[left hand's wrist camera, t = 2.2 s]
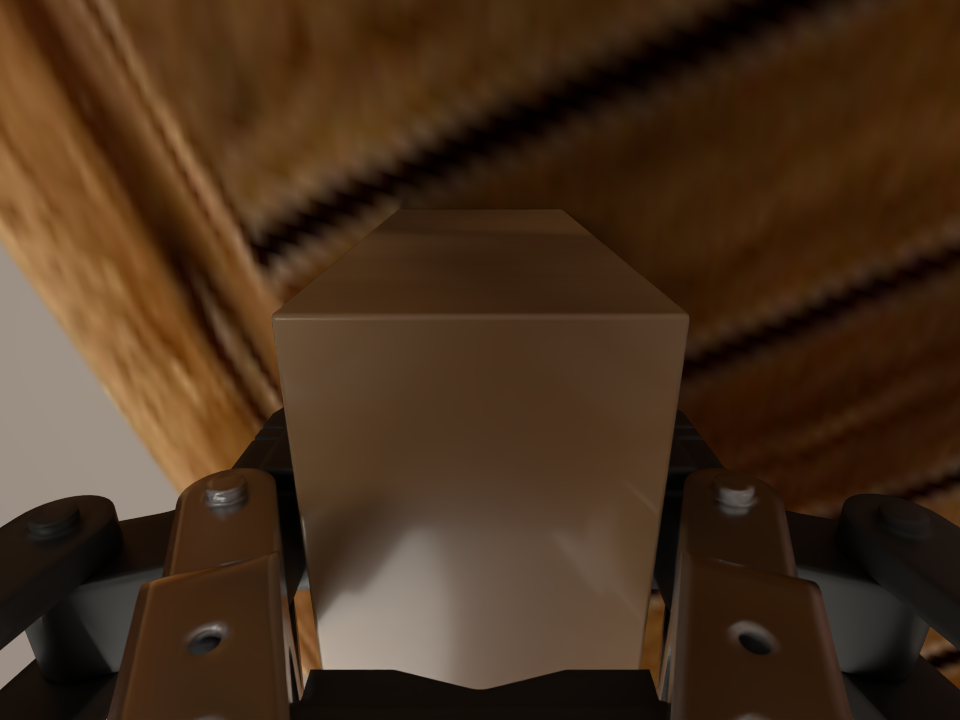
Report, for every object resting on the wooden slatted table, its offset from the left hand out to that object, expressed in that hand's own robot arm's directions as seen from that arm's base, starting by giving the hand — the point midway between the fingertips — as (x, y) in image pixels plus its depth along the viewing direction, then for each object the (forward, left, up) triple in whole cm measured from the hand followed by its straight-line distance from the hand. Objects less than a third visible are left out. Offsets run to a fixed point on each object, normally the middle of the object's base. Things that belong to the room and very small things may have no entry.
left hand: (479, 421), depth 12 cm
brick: (0, 0, -6) cm, 6 cm away
